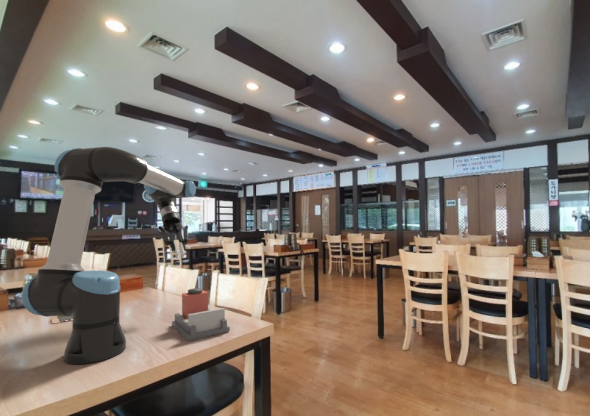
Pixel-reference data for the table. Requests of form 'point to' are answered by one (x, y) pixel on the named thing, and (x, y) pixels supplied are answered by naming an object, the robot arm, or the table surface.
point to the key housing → (201, 324)
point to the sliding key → (194, 301)
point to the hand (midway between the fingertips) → (180, 255)
